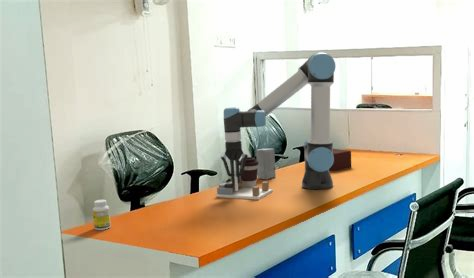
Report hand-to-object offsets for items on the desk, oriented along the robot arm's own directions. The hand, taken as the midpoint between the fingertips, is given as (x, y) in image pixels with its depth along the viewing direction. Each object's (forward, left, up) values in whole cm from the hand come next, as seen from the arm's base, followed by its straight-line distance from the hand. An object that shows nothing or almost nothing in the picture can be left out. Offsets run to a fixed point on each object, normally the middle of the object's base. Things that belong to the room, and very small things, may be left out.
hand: (236, 190), depth 262 cm
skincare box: (+2, -42, -3) cm, 42 cm away
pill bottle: (+27, +64, -3) cm, 70 cm away
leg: (+3, -4, -1) cm, 5 cm away
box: (-22, -79, -3) cm, 82 cm away
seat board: (-3, -3, -3) cm, 5 cm away
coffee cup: (+1, -16, -3) cm, 16 cm away
